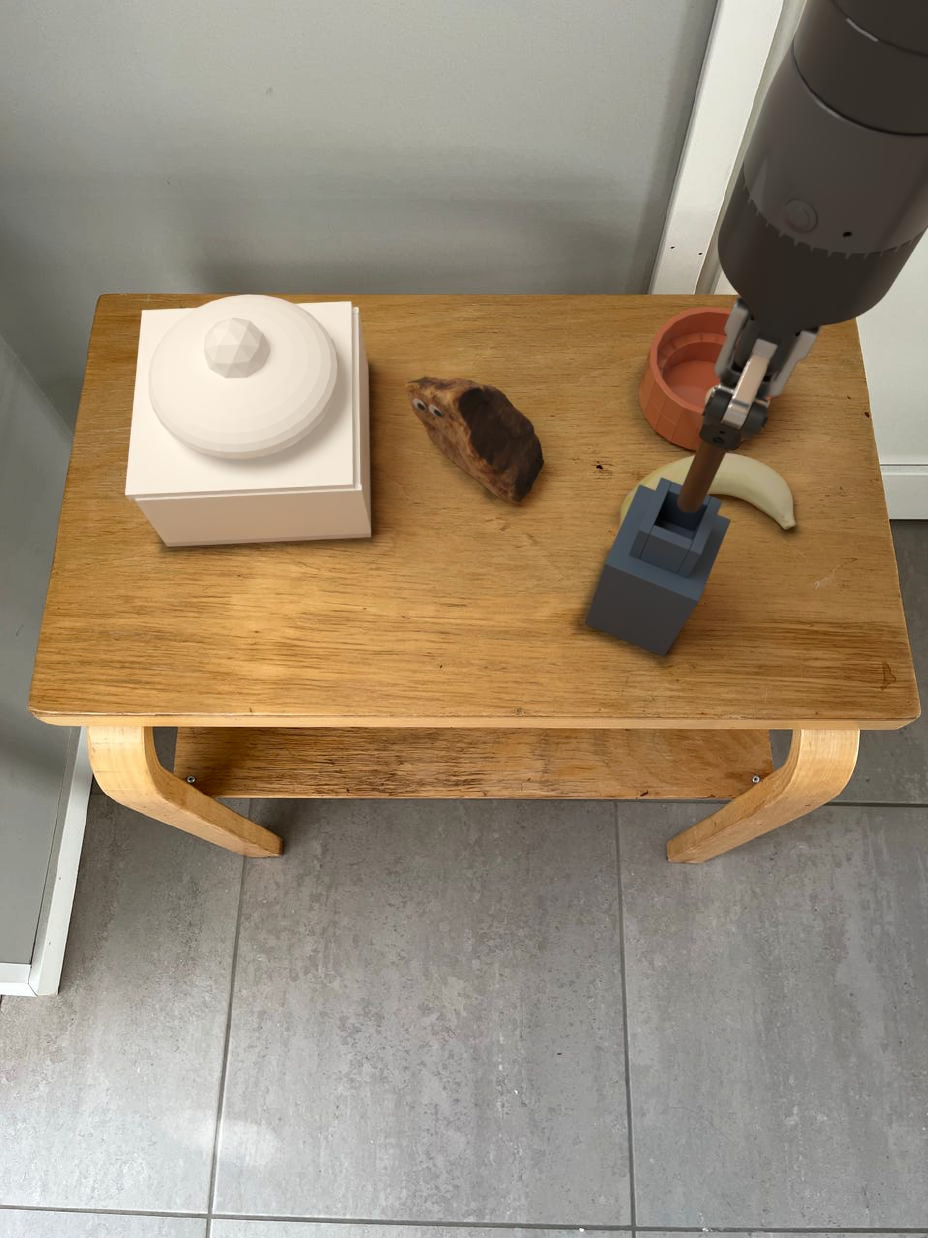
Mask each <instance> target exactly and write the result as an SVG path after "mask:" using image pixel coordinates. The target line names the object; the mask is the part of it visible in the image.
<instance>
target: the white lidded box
mask: <svg viewBox="0 0 928 1238" xmlns="http://www.w3.org/2000/svg"><path fill="white" fill-rule="evenodd" d="M360 313H361V312H360V308H359V306H354V307H353V303H352V301H351V300H349V301H327V302H325V301H324V302H305V303H303V302H302V303H293V302H290V301H288V300H285V299H283V298H280V297H275V296H271V295H270V296H269V295H265V294H240V295H239V294H238V295H231V296H226V297H222V298H218V299H215V300H211V301H209V302H207V303H205V304H203V305H200V306H197V307H187V308H185V307H184V308H164V309H163V308H162V309H142V310H141V319H140V327H139V341H138V351H137V361H136V373H135V384H134V394H133V403H132V405H133V406H132V413H131V414H132V416H131V425H130V435H129V436H130V437H129V447H128V459H127V470H126V479H125V490H124V496H125V497H126V499H127V500H128V501H129V500H130V501H131V500H134V502H135V504H136V505H137V506H138V507H139V509H140V511H141V512H142V514H143V515H144V516H145V518H146V519H147V521H148V522H149V523H150V524H151V526H152V527H153V529H154V530H155V532H156V533H157V534H158V536H159V537H160V539H161V540H162V541H163V543H164V544H165V546H166V547H167V548H168V547H169V548H170V547H171V548H172V547H189V546H190V547H193V546H212V545H213V546H214V545H215V546H216V545H232V544H253V543H255V544H257V543H274V542H275V543H277V542H297V541H318V540H338V539H339V540H340V539H342V540H343V539H361V538H372V517H371V516H372V510H371V505H372V503H371V499H372V497H371V446H370V445H371V444H370V443H371V441H370V381H369V380H370V379H369V378H370V377H369V376H370V375H369V374H370V373H369V363H368V357H367V349H366V345H365V338H364V333H363V326H362V320H361V314H360Z"/></svg>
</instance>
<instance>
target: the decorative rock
mask: <svg viewBox="0 0 928 1238" xmlns="http://www.w3.org/2000/svg"><path fill="white" fill-rule="evenodd" d="M404 390H405V392H406V396H407V399H408V401H409V403H410V405H411V409H412V412H413V413H414V415H415V416H416V417H417V418H418V420H419V421H420V422H421V423H422V426H423V427H424V428H425V430H426V433H427V436H428V438H429V440H430V442H431V443H432V444H433V445H434V446H435V447H437V448H438V449H439V450H441V451H442V452H443V453H444V454H445V456H446V457H448V458H449V459H450V460H451V461H453V462H454V463H455V464H456V465H457V466H458V467H459V468H461V469H462V470H463V471H464V472H465V473H467V474H468V475H469V476H471V477H473V478H474V479H475V480H477V481H478V482H479V483H480V484H482V486H483V487H485V488H486V489H488V490H489V492H491V494H492V495H494V496H496V497H498V498H499V499H501V500H503V501H506V502H510V503H512V504H515V505H518V504H520V503H521V502H522V501H523V500H524V499H525V498H526V497H527V495H528V494H529V493H530V492H531V491H532V490H533V487H534V484H535V482H536V481H537V479H538V477H539V475H540V473H541V472H542V470H543V468H544V465H545V459H544V453H543V449H542V443H541V442H540V441H541V440H540V438H539V436H537V434H536V433H535V426H534V425H533V423H532V421H531V419H529V418H527V417H526V416H525V415H524V414H523V413H522V412H521V411H520V410H519V409H518V408H516V407H515V406H514V404H513V403H512V402H511V401H510V399H508V397H507V396H506V394H505V393H504V392H503V391H502V390H500V389H499V388H497V387H495V386H493V385H491V384H490V385H488V384H483V383H482V384H481V383H478V382H476V381H473V379H472V380H471V379H466V378H461V377H454V378H453V379H452V378H451V379H448V378H447V379H446V378H439V377H434V376H433V377H431V376H425V375H424V376H422V377H421V378H418V379H414V380H410V381H408V382H406V383H405V387H404Z"/></svg>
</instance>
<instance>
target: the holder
mask: <svg viewBox="0 0 928 1238" xmlns="http://www.w3.org/2000/svg"><path fill="white" fill-rule="evenodd" d="M682 486H683V485H680V484H678V483H675V482H672V481H670V480H667V479H665V478H662V477H661V479H660V481H659V483H658V486H657V488H656V490H653V489H651V488H648V487H645V486H643V485H639V486H638V489H637V491H636V493H635V495H634V498H633V500H632V502H631V505H630V507H629V509H628V511H627V514H626V516H625V518H624V520H623V523H622V525H621V527H620V526H619V529H618V532H617V534H616V537H615V538H614V541H613V543H612V546H611V548H610V550H609V553H608V555H607V557H606V559H605V562H604V564H603V567H602V570H601V572H600V575H599V579H598V581H597V585H596V587H595V591H594V593H593V596H592V599H591V602H590V605H589V607H588V610H587V613H586V617H585V619H584V623H583V624H584V625H587V626H588V627H591V628H593V629H596V630H599V631H601V632H603V633H604V634H605V633H606V634H608V635H610V636H613V637H615V638H618V639H620V640H623V641H625V642H627V643H630V644H631V645H634V646H637V647H639V648H642V649H643V650H646V651H649V652H651V653H652V654H656V655H658V656H661V657H665V656H666V654H667V653H668V651H669V650H670V648H671V646H672V645H673V643H674V642H675V640H676V639H677V637H678V636H679V634H680V632H681V631H682V629H683V628H684V626H685V624H686V623H687V622H688V620H689V618H690V617H691V615H692V613H693V612H694V610H695V609H696V607H697V605H698V604H699V602H700V600H701V598H702V595H703V592H704V590H705V587H706V585H707V583H708V580H709V577H710V575H711V572H712V569H713V567H714V565H715V562H716V560H717V557H718V555H719V551H720V549H721V547H722V544H723V542H724V539H725V537H726V534H727V531H728V529H729V526H730V525H731V518H728V517H725V516H722V515H719V511H720V509H721V506H722V504H723V500H722V499H719V498H717V497H715V496H711V495H710V494H708V495H706V497H705V499H704V501H703V504H702V506H701V508H700V509H699V510H698V511H697V512H695V513H686V512H683V511H682V510H681V509H680V508H679V507H678V505H677V498H678V496H679V493H680V491H681V488H682Z"/></svg>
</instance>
